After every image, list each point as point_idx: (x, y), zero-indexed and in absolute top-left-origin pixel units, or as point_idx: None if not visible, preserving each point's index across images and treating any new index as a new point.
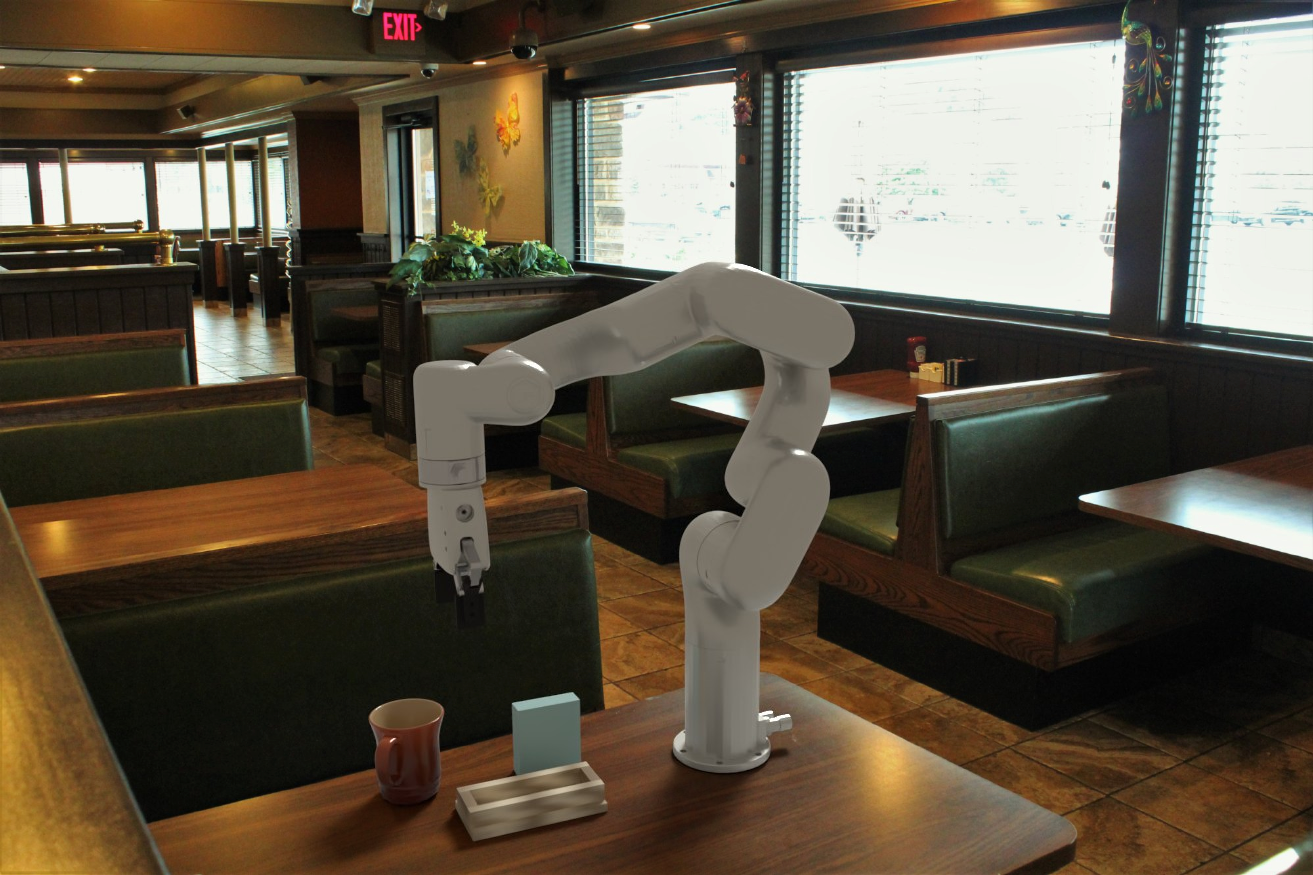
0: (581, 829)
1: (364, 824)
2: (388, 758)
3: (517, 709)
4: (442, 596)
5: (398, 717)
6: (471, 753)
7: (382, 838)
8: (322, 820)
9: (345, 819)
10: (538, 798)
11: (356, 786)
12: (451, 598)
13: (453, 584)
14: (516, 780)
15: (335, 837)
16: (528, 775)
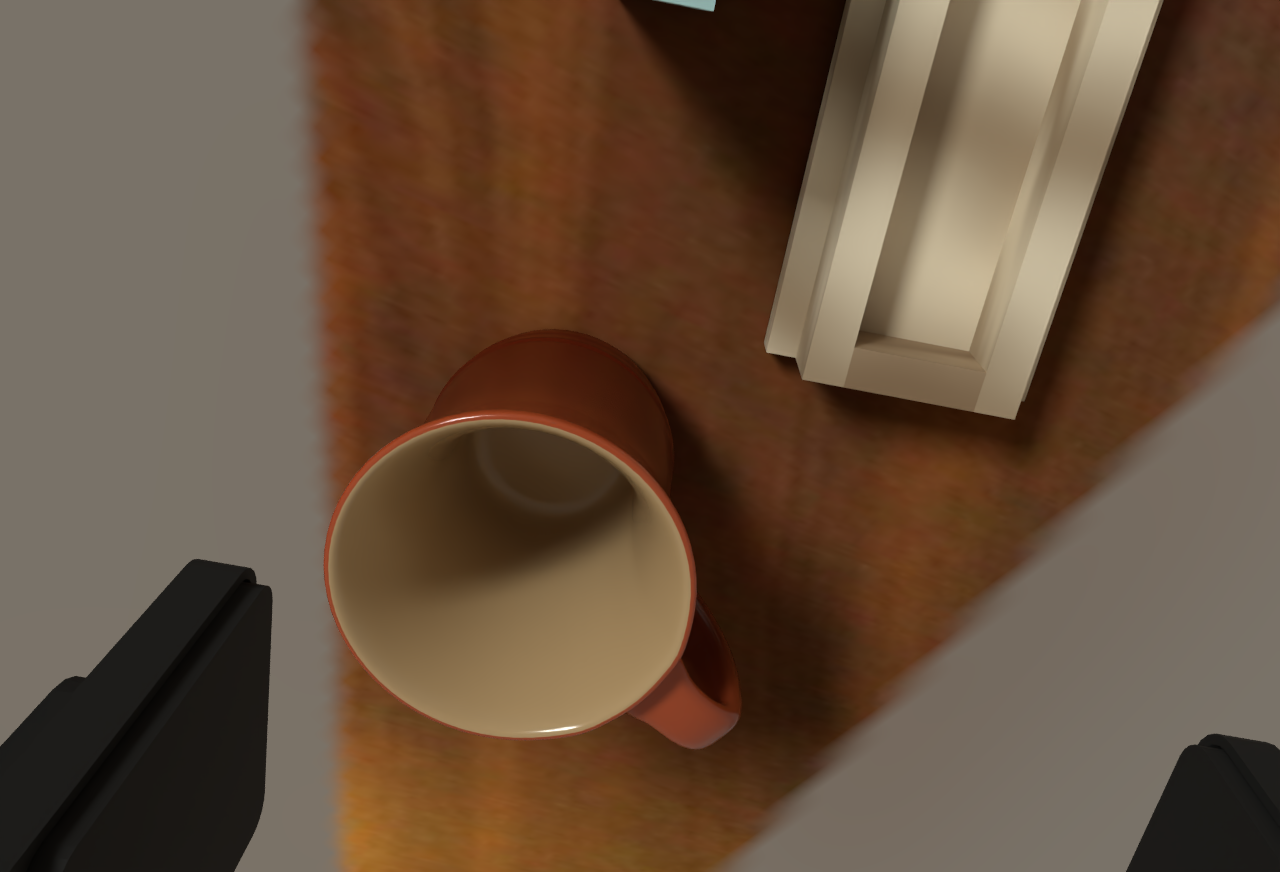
0: (1242, 2)
1: None
2: (737, 699)
3: (689, 2)
4: (232, 818)
5: (386, 540)
6: (362, 82)
7: (793, 607)
8: None
9: None
10: (1110, 136)
11: None
12: (253, 702)
13: (174, 801)
14: (908, 141)
15: None
16: (903, 70)
